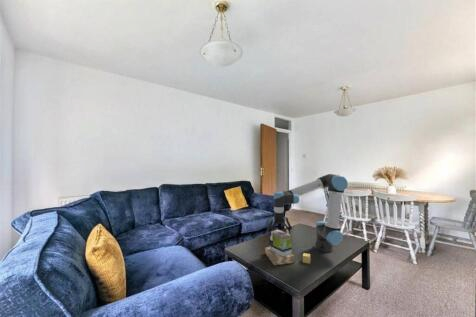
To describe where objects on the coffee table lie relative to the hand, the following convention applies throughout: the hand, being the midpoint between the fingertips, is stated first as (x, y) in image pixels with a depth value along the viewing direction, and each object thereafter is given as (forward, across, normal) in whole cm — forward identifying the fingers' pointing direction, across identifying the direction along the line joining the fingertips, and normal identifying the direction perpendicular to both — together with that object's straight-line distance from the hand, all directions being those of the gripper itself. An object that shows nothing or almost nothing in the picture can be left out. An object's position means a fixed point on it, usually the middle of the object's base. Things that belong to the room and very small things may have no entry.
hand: (279, 239), depth 161 cm
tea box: (+10, 0, +1) cm, 10 cm away
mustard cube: (+15, -17, +10) cm, 25 cm away
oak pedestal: (+15, +1, 0) cm, 15 cm away
